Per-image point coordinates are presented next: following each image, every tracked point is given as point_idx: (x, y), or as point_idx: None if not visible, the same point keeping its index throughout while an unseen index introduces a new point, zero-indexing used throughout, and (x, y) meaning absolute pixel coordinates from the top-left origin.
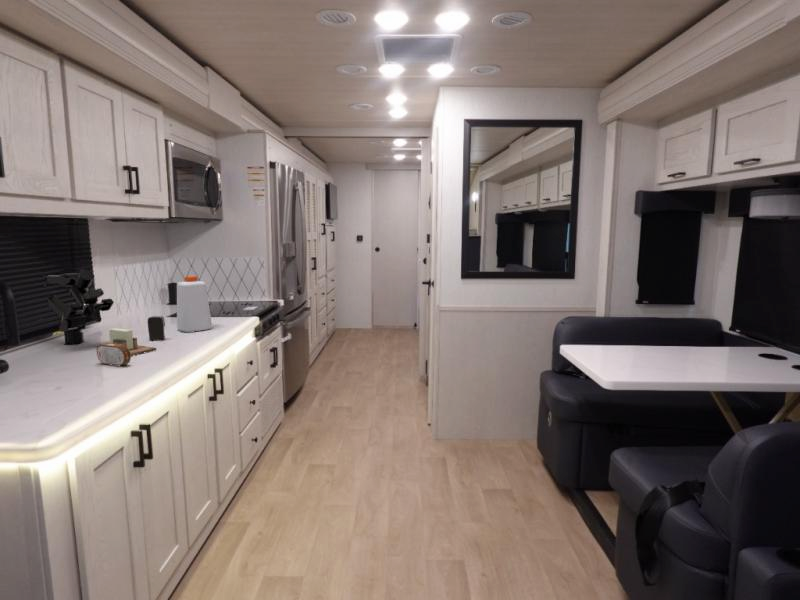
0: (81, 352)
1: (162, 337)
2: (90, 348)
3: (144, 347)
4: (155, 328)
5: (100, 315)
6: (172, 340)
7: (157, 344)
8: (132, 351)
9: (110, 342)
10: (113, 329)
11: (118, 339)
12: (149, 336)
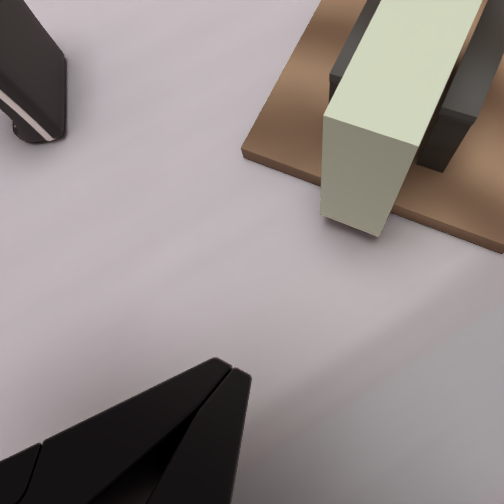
0: (477, 490)
1: (56, 45)
2: (306, 498)
3: (347, 7)
4: (3, 21)
5: (105, 410)
6: (82, 5)
7: (190, 29)
8: (478, 12)
9: (387, 217)
10: (415, 88)
11: (458, 72)
12: (46, 115)
